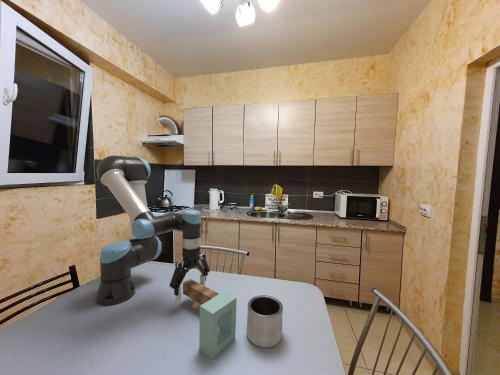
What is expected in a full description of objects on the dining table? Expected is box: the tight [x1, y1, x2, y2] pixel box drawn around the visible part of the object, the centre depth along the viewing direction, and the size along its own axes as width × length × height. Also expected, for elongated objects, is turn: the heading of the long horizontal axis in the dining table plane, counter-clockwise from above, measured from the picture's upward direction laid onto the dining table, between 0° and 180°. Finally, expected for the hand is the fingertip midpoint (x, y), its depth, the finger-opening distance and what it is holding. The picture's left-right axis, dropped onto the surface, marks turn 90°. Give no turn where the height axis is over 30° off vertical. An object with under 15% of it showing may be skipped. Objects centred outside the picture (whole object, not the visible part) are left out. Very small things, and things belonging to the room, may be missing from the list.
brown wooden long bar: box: [182, 278, 220, 305], centre depth 87 cm, size 22×4×5 cm, turn 53°
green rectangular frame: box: [198, 291, 237, 360], centre depth 71 cm, size 6×11×14 cm, turn 143°
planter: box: [246, 294, 284, 348], centre depth 75 cm, size 13×13×11 cm
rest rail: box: [192, 299, 201, 313], centre depth 87 cm, size 12×3×4 cm, turn 53°
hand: (190, 295), depth 92 cm, fingers open, 12 cm apart
